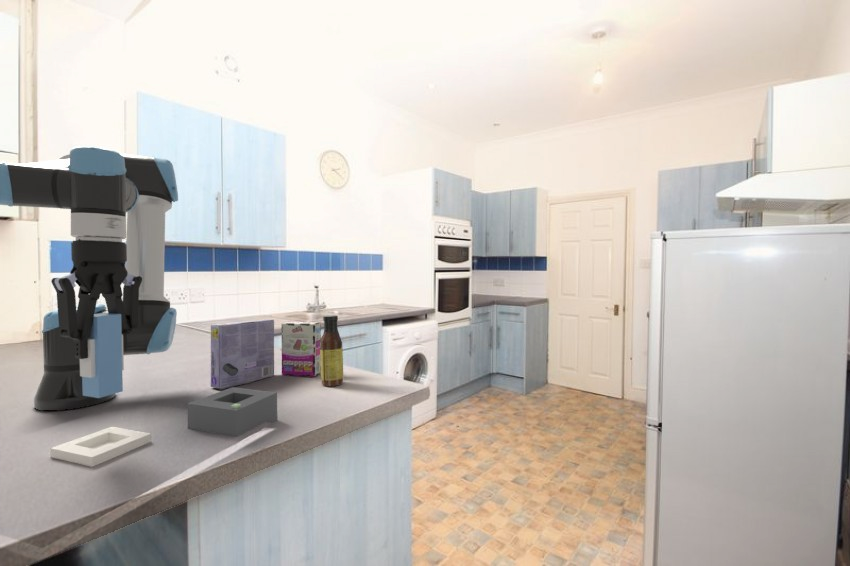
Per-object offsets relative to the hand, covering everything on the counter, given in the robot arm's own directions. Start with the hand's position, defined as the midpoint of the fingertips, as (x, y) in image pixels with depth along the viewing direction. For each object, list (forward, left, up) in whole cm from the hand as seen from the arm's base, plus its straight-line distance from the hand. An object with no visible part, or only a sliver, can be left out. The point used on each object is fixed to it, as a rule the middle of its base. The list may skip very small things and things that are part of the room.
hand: (102, 372), depth 72 cm
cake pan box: (-10, +46, -15) cm, 49 cm away
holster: (0, 0, -14) cm, 14 cm away
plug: (0, 0, -4) cm, 4 cm away
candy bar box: (+1, +58, -15) cm, 60 cm away
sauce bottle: (+15, +52, -15) cm, 56 cm away
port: (+12, +18, -15) cm, 26 cm away
